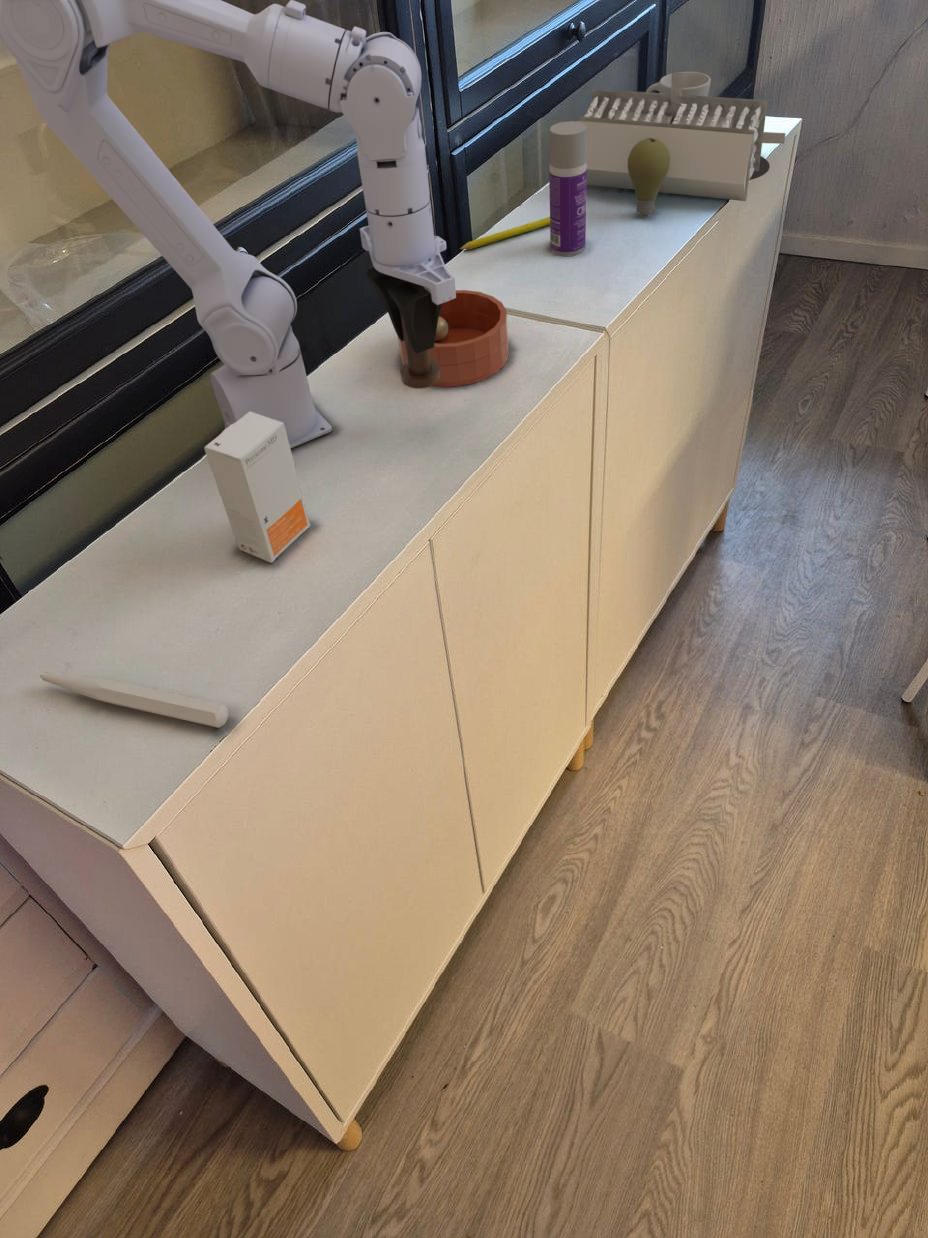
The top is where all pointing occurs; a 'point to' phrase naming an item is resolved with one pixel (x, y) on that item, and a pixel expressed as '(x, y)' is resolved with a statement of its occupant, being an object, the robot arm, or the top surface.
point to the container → (567, 188)
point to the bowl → (470, 339)
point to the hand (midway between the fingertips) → (416, 342)
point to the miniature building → (678, 139)
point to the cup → (685, 84)
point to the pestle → (418, 366)
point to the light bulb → (648, 172)
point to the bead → (441, 329)
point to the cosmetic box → (258, 485)
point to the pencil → (506, 234)
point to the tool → (143, 698)
